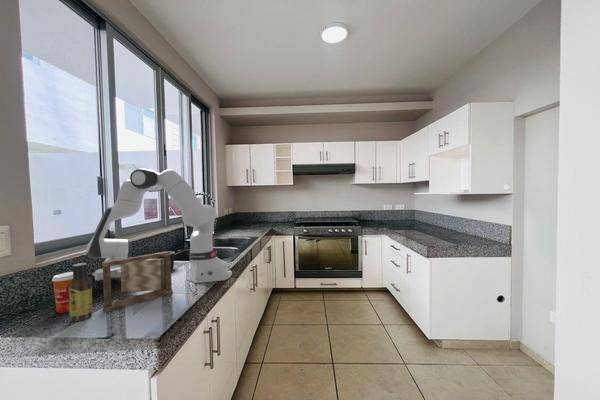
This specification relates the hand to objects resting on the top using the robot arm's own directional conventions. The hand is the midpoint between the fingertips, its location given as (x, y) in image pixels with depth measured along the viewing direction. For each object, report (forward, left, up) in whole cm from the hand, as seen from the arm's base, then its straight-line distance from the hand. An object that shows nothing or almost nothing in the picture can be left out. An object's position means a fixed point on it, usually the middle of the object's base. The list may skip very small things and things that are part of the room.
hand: (125, 273), depth 114 cm
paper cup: (+11, +17, -9) cm, 22 cm away
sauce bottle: (0, +24, -9) cm, 26 cm away
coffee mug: (-1, -34, -9) cm, 35 cm away
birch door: (-10, +4, -7) cm, 13 cm away
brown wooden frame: (-12, +10, -9) cm, 18 cm away
